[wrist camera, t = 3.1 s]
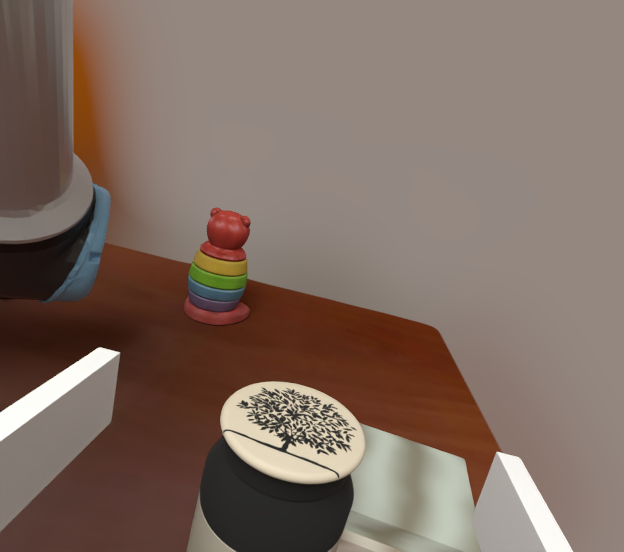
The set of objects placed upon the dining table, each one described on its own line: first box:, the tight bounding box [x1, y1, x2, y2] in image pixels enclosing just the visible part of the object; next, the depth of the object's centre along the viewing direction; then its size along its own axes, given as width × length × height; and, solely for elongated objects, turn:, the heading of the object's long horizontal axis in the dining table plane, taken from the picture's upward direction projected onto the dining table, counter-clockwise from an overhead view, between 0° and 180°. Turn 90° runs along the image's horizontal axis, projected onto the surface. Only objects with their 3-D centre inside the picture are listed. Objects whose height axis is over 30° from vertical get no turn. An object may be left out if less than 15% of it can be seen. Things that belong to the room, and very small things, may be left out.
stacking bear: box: [184, 208, 251, 325], centre depth 72 cm, size 11×10×18 cm
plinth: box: [336, 423, 481, 552], centre depth 41 cm, size 14×14×5 cm
